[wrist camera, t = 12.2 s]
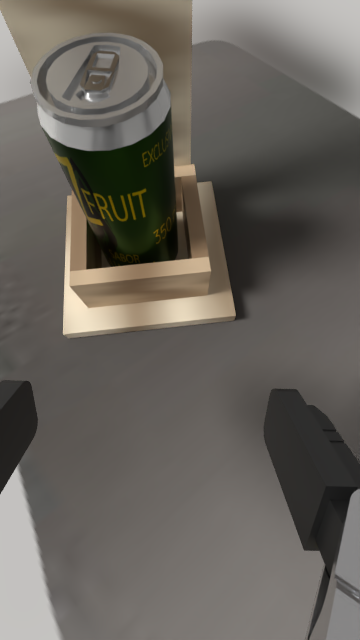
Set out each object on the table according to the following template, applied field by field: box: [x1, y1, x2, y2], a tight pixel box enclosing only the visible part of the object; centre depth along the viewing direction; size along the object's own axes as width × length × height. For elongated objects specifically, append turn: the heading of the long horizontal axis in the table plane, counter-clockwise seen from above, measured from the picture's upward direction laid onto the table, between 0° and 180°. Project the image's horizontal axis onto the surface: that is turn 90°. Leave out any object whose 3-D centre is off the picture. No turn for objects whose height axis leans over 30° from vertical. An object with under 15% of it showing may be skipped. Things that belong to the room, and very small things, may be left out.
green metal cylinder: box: [30, 33, 178, 267], centre depth 16 cm, size 5×5×12 cm
